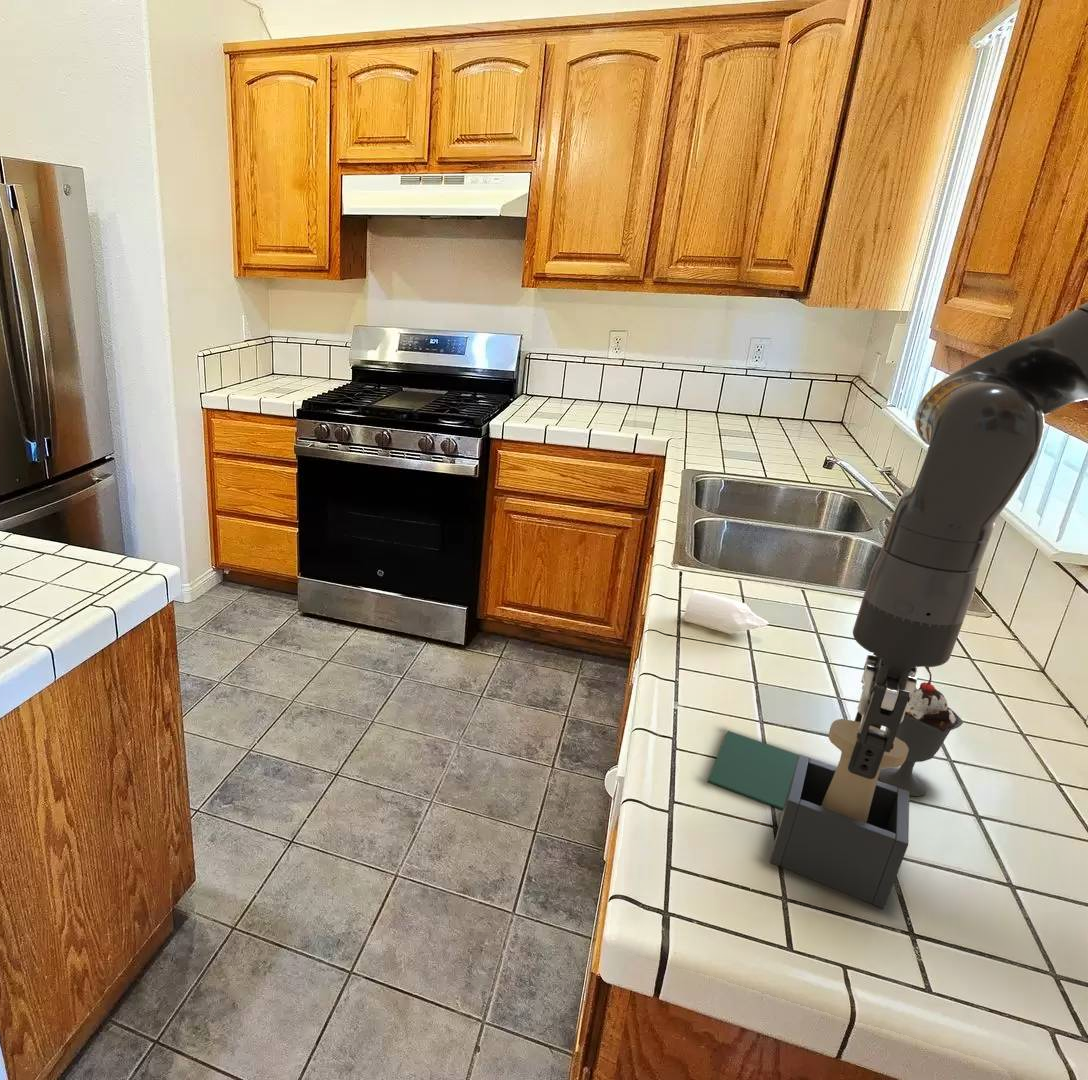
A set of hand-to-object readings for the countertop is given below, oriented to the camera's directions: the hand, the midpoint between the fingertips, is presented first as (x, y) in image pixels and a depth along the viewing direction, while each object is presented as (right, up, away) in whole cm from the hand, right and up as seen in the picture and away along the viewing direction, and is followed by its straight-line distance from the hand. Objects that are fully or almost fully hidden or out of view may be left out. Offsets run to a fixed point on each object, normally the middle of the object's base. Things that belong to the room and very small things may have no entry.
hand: (863, 751), depth 73 cm
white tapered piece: (+11, +5, +51) cm, 52 cm away
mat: (+1, -8, +16) cm, 18 cm away
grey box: (0, -12, +5) cm, 13 cm away
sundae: (+15, -9, +16) cm, 24 cm away
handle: (0, -13, +5) cm, 14 cm away
